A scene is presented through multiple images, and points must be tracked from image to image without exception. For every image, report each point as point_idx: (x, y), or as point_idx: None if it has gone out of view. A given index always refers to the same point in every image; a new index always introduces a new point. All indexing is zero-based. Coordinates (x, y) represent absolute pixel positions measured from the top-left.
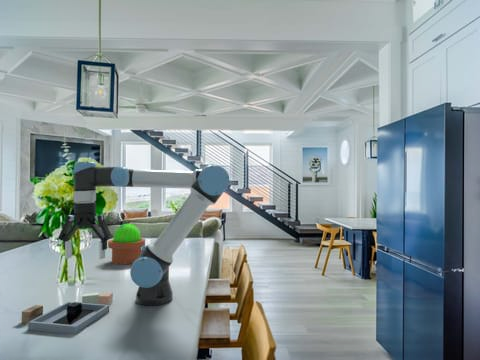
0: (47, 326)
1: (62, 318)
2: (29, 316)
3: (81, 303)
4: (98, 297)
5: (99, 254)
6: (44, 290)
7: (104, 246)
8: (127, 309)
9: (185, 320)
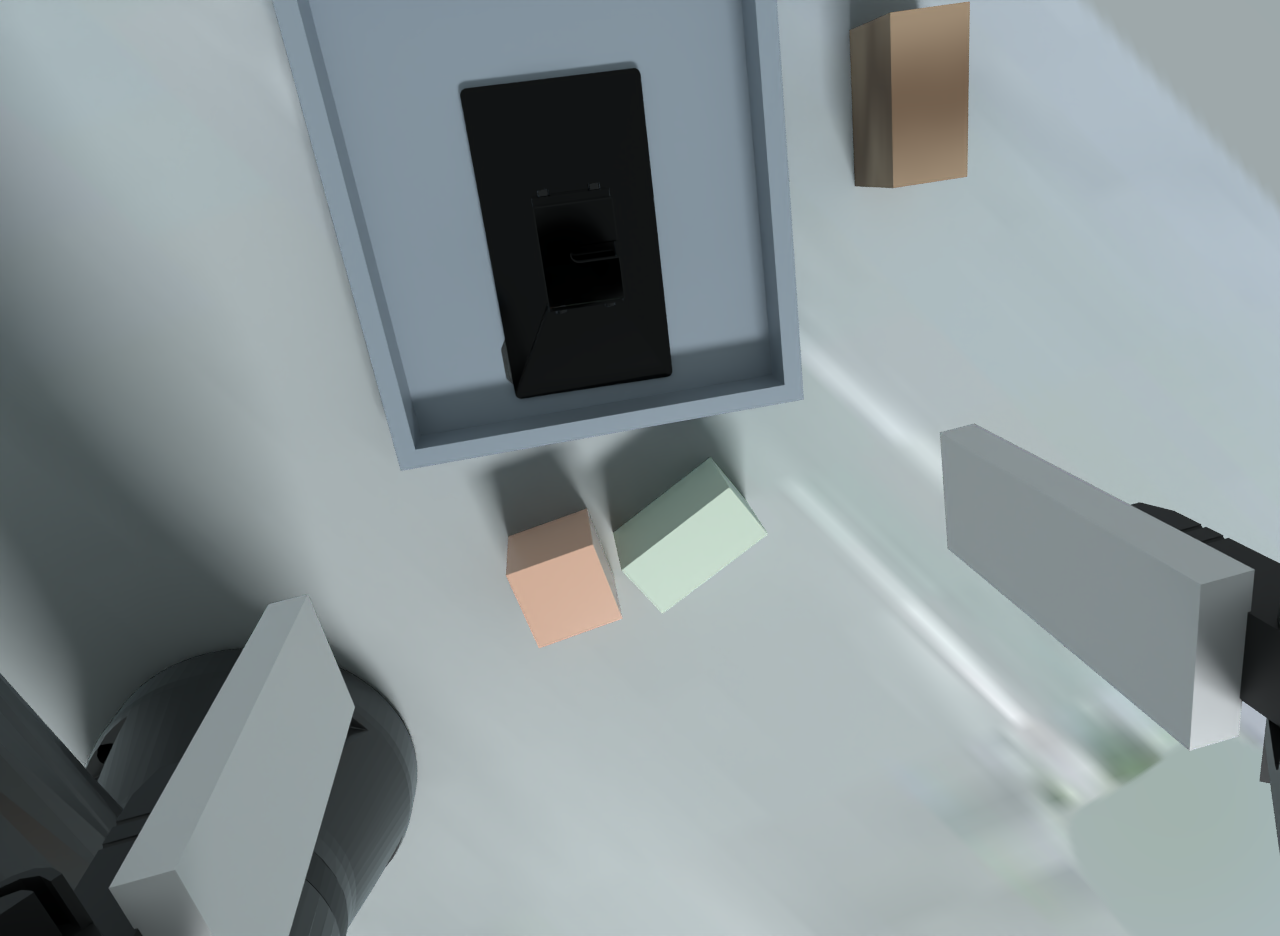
0: None
1: (606, 144)
2: (872, 22)
3: (662, 410)
4: (620, 558)
5: (281, 646)
6: None
7: (129, 829)
8: (305, 539)
9: None
